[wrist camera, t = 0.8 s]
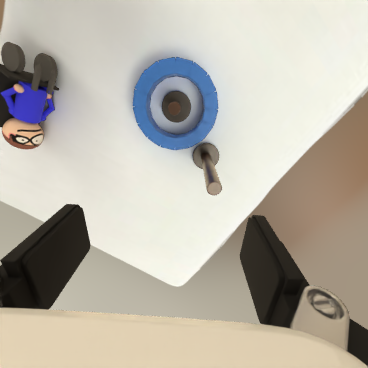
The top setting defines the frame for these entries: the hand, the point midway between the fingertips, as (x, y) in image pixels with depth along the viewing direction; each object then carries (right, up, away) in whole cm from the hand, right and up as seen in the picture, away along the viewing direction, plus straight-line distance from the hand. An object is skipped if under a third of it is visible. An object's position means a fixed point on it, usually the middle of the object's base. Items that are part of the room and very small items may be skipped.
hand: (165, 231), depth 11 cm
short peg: (0, +16, +21) cm, 26 cm away
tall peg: (+5, +8, +24) cm, 26 cm away
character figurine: (-23, +17, +21) cm, 36 cm away
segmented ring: (0, +16, +21) cm, 26 cm away
